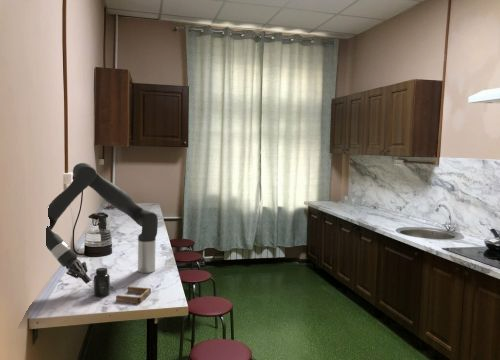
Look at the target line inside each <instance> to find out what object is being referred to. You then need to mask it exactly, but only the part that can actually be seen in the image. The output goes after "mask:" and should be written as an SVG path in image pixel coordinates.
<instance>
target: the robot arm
mask: <svg viewBox="0 0 500 360" xmlns="http://www.w3.org/2000/svg"><path fill="white" fill-rule="evenodd" d="M72 175H73V177H74V178H73V180H72V182H71V183H70V184H69V185H68V187H66V188H65V189H64V190H63V191H61V193H59V194H58V195H57V196H56V197H54V199H53V200H52V201H51V202H50V203H49V204H48V206H49V208H48V217H49V219H50V226H49V227H48V226H47V228H46V246H47V247H46V246H45V247H46V248H47V249H48V251H50V253H51V255H52V256H53V257H54V258H55V259H56V261H58V263H59V264H60V265H61V266H62V267H63V268H66V269H67V271H66V272H65V274H66V275H67V276H70V277H72V278H75V279H81V280H82V281H83V282H84V283H85V284H86V285H88V284H89V283H90V282H91V280H92V279H91V278H90V276H88V274H87V273H88V266H87V263H86V262H85V261H83V262H81V260H80V259H78V255H77V254H76V252H75V250H73V249H72V247H70V245H68V243H66V242H65V241H64V239H63V238H62V237H60V235H59V234H58V233H55V232H53V229H54V228H55V225H56V224H57V222H58V220H59V218H60V217H61V216H62V215H63V213H64V212H65V211H66V210H67V208H69V206H70V205H71V204H72V203H73V202H74V200H75V199H76V198H77V197H78V196H79V195H80V194H81V193H83V192H84V191H85V189H87V188H88V187H89V188H91V189H92V190H94V191H95V192H96V193H97V194H98V195H99V196H100V197H101V198H102V199H103V200H104V201H105V202H107V203H108V204H109V205H111V206H113V207H114V208H115V209H117V210H118V211H120V212H121V213H124V214H126V215H127V216H128V217H130V219H131V220H133V222H135V223H136V224H137V225H138V226H140V227H141V233H140V234H139V235H138V236H137V241H138V242H137V272H138V273H140V274H141V273H142V274H149V273H153V272H155V271H156V244H157V243H156V241H157V240H156V238H157V234H158V228H159V226H158V224H159V219H158V216H157V214H156V213H155V212H154V211H151V210H148V209H144V208H143V207H141V206H140V205H139V204H137V203H135V201H134V200H133V199H132V197H131V196H130V195H129V194H128V193H127V192H125V191H124V190H123V189H122V188H120V187H119V186H118V185H116V184H114V183H112V182H111V181H109V180H107V179H106V178H104V177H103V176H101V175H100V174H99V173H98V172H97V170H96V169H95V168H94V166H91V164H88V163H86V162H79V163H77V164H75V165H74V166H73V169H72Z"/></svg>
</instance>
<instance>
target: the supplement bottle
mask: <svg viewBox="0 0 500 360" xmlns="http://www.w3.org/2000/svg"><path fill="white" fill-rule="evenodd" d="M110 285H111V282H110V274H109V273H108V268H107V267H98V268H96V269H95V274H94V276H93V296H94V297H96V298H102V297H107V296H109V295H110V293H111V290H110V289H111V288H110V287H111V286H110Z"/></svg>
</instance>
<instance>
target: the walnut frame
mask: <svg viewBox="0 0 500 360" xmlns="http://www.w3.org/2000/svg"><path fill="white" fill-rule="evenodd" d="M126 287H127V288H126V289H127V290H126V291H127V293H128V294H129V293H130V294H131V293H132V294H140V295H139V296H133V295H132V296H131V295H122V294H121V295H120V294H119V295H118V294H116V296H115V302H119V303H130V304H139V305H140V304H142V302H143V301H144V300H145V299H146V298H148V297H149V296H150V295H151V293H152V289H151V288H150V287H142V286H141V287H140V286H126Z"/></svg>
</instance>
